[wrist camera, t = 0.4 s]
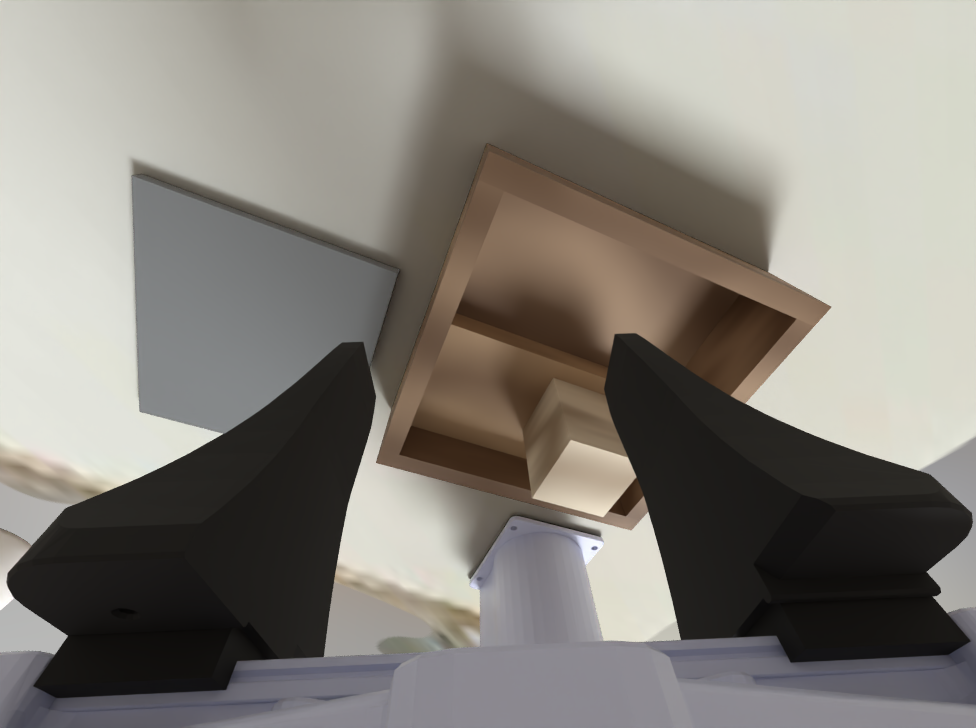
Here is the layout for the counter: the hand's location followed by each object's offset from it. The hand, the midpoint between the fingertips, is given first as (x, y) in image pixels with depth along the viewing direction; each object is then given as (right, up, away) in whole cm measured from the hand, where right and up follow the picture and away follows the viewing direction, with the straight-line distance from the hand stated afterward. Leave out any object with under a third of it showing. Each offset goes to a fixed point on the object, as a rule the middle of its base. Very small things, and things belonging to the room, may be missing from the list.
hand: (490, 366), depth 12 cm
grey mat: (-13, +1, +11) cm, 17 cm away
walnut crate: (+4, +1, +12) cm, 13 cm away
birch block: (+5, -3, +12) cm, 13 cm away
